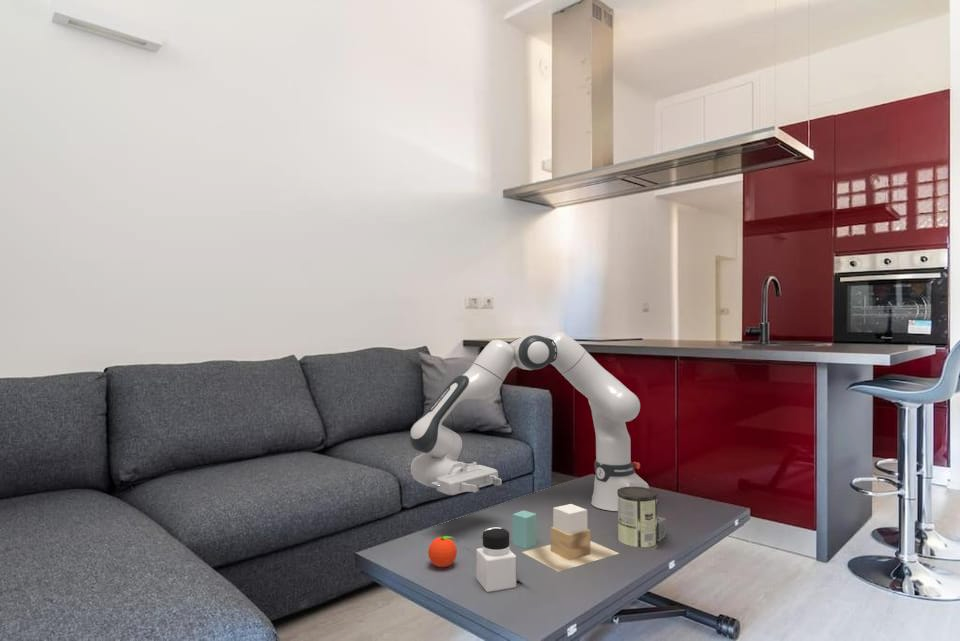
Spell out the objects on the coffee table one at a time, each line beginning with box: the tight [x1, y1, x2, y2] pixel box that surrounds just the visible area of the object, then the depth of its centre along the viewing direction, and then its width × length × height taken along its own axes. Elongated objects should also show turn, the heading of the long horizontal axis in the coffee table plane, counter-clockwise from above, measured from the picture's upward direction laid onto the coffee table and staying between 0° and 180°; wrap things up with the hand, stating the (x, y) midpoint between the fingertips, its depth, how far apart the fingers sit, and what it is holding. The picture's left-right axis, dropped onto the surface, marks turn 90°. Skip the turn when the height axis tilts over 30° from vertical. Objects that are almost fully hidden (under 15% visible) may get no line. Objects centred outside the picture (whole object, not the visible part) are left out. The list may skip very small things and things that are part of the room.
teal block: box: [512, 509, 538, 550], centre depth 150 cm, size 4×4×9 cm
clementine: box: [427, 535, 459, 568], centre depth 139 cm, size 8×7×7 cm
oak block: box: [550, 526, 591, 560], centre depth 144 cm, size 7×7×6 cm
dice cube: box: [657, 516, 667, 540], centre depth 158 cm, size 5×5×5 cm
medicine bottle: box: [475, 527, 517, 593], centre depth 129 cm, size 7×7×12 cm
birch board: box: [521, 540, 620, 573], centre depth 143 cm, size 20×14×1 cm
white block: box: [552, 503, 588, 535], centre depth 144 cm, size 6×6×5 cm
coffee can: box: [617, 487, 658, 549], centre depth 152 cm, size 10×10×14 cm
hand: (488, 485), depth 158 cm, fingers open, 8 cm apart
